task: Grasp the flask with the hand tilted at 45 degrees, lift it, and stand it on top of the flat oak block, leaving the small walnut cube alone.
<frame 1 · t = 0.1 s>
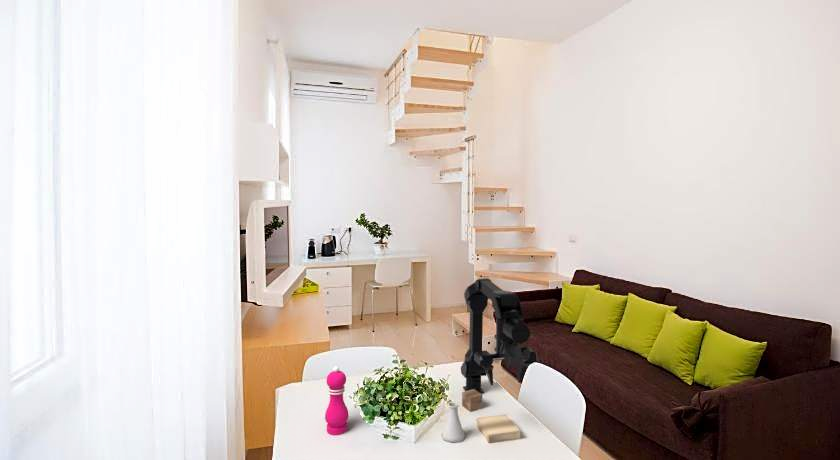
hand: (505, 383, 126), 15 cm above the table, tool pointing down, fingers open, 9 cm apart
pepper mill: (337, 430, 127), on the table
flask: (453, 437, 123), on the table
oak block: (497, 433, 125), on the table
walnut cube: (472, 407, 141), on the table
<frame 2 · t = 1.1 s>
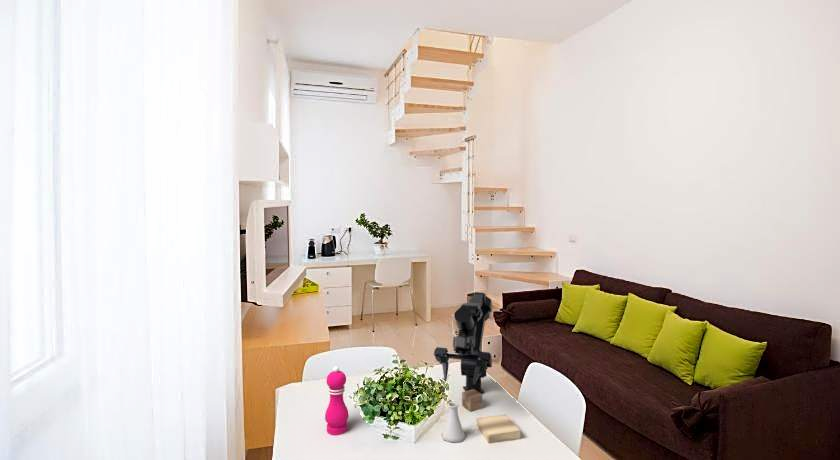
hand: (459, 382, 130), 13 cm above the table, tool tilted 45°, fingers open, 9 cm apart
nothing on the table moved.
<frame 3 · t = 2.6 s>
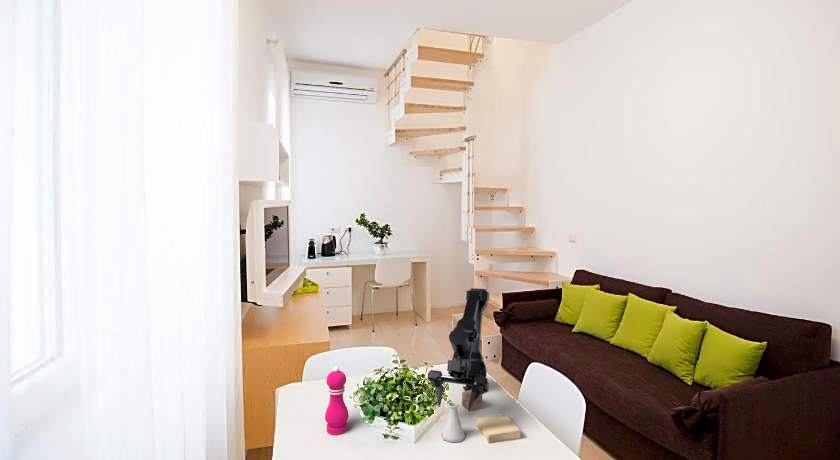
hand: (453, 408, 123), 8 cm above the table, tool tilted 45°, fingers open, 9 cm apart
nothing on the table moved.
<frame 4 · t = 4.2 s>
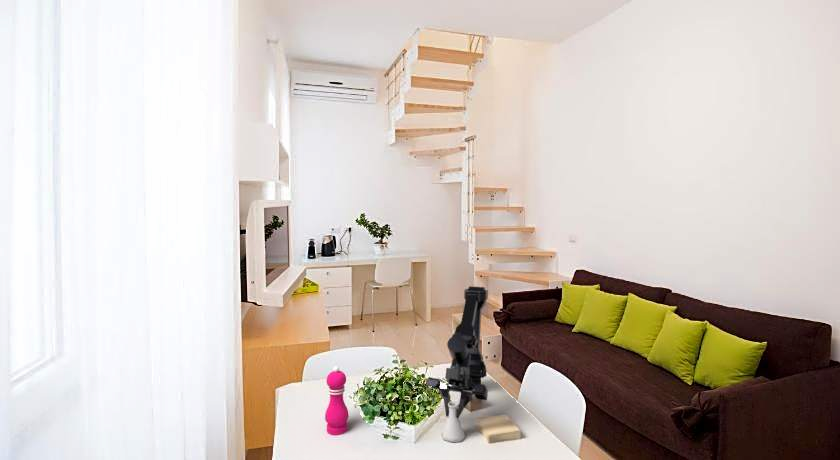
hand: (452, 417, 121), 7 cm above the table, tool tilted 45°, fingers closed on flask, 3 cm apart
flask: (453, 437, 123), on the table, touching gripper
everything else where it was.
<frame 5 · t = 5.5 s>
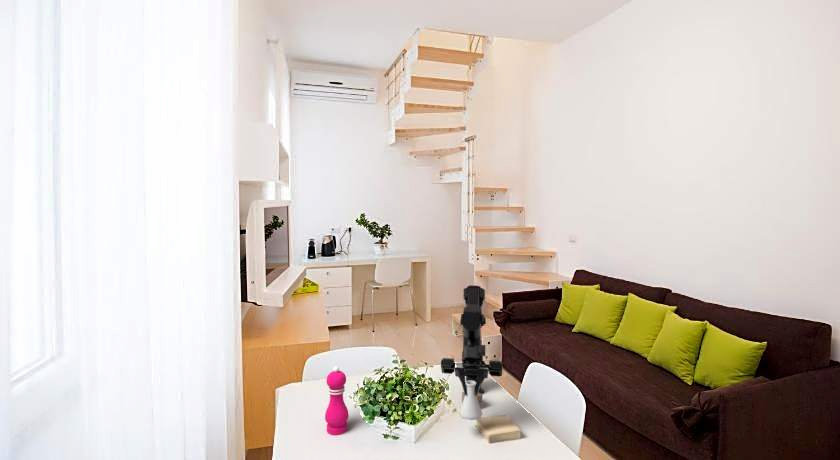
hand: (470, 395, 121), 13 cm above the table, tool tilted 45°, fingers closed on flask, 3 cm apart
flask: (470, 415, 123), point 6 cm above the table, touching gripper
everything else where it was.
when the fingers open (10 cm above the table, at t = 7.0 s): flask drops 1 cm, resting on oak block.
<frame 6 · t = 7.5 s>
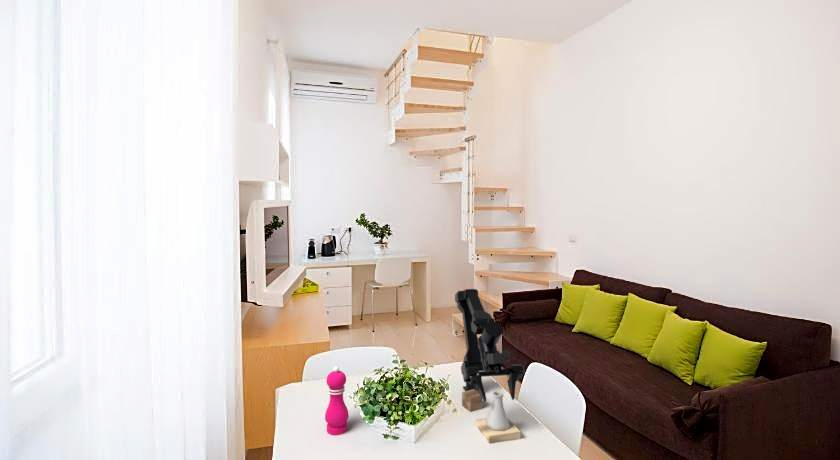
hand: (499, 400, 123), 11 cm above the table, tool tilted 45°, fingers open, 8 cm apart
flask: (497, 425, 125), point 2 cm above the table, touching oak block
oak block: (497, 435, 125), on the table, touching flask
everything else where it was.
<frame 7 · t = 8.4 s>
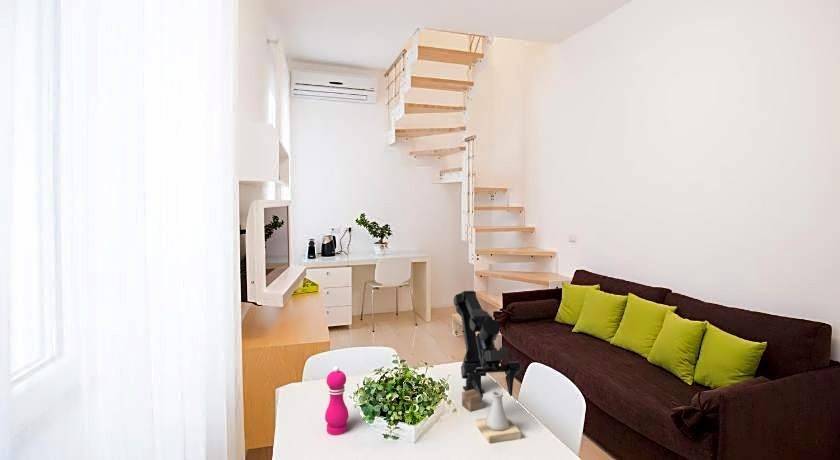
hand: (496, 396, 126), 11 cm above the table, tool tilted 45°, fingers open, 9 cm apart
nothing on the table moved.
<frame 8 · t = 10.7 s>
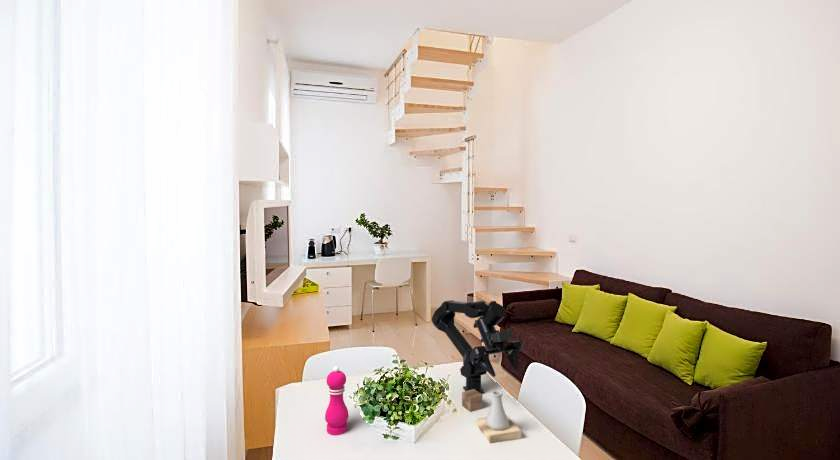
hand: (506, 374, 136), 14 cm above the table, tool tilted 45°, fingers open, 9 cm apart
flask: (497, 425, 125), point 2 cm above the table
oak block: (498, 434, 125), on the table
everything else where it was.
at the end: flask inside the target area on the oak block (0.4 cm from its centre), point 2.8 cm above the oak block's base; flask tilted 0°; the gripper is holding nothing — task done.
